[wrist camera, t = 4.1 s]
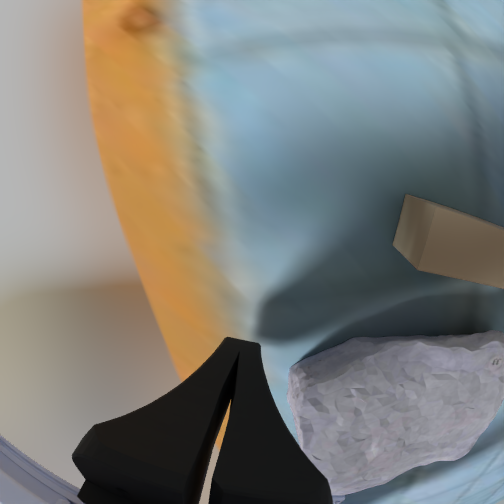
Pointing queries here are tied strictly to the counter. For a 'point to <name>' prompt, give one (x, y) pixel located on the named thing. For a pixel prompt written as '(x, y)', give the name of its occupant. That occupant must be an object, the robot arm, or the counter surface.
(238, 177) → the counter surface
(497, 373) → the stone block
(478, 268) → the fence
